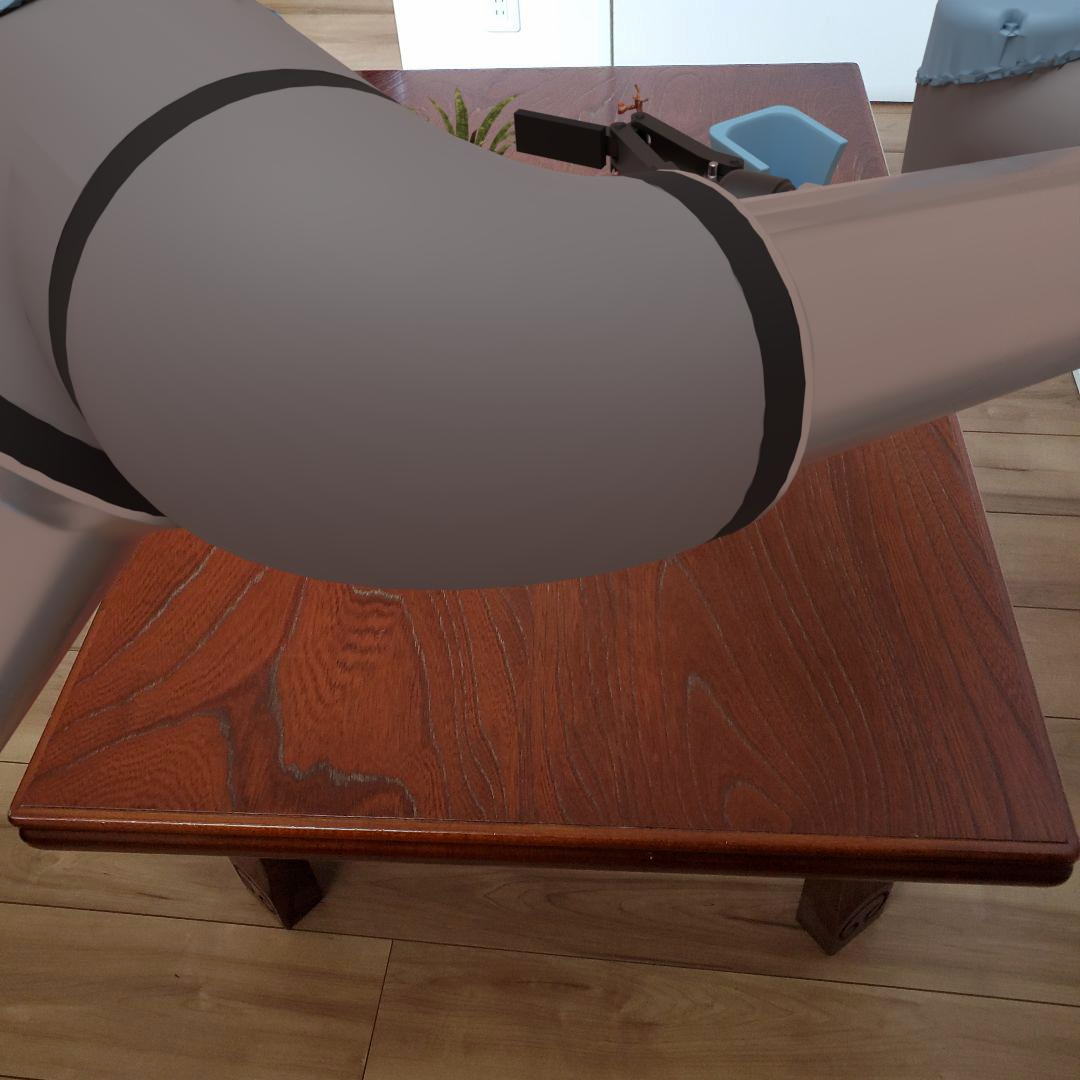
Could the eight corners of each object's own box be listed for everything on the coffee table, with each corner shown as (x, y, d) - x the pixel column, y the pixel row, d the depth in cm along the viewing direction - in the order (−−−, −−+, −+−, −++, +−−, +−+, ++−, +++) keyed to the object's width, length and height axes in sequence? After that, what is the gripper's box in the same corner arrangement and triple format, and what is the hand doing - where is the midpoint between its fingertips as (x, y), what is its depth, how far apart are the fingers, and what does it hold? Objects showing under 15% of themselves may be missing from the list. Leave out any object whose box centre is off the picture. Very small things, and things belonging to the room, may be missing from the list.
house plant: (570, 233, 113) (564, 73, 102) (528, 310, 104) (516, 144, 93) (440, 217, 117) (419, 61, 105) (388, 290, 108) (359, 128, 96)
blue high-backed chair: (740, 390, 94) (760, 170, 80) (690, 343, 99) (700, 127, 85) (817, 360, 97) (849, 141, 82) (763, 315, 102) (785, 101, 87)
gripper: (688, 427, 59) (362, 329, 67) (842, 204, 74) (559, 145, 82) (694, 308, 54) (339, 216, 62) (859, 93, 68) (555, 41, 76)
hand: (464, 176), depth 72 cm, fingers open, 13 cm apart
